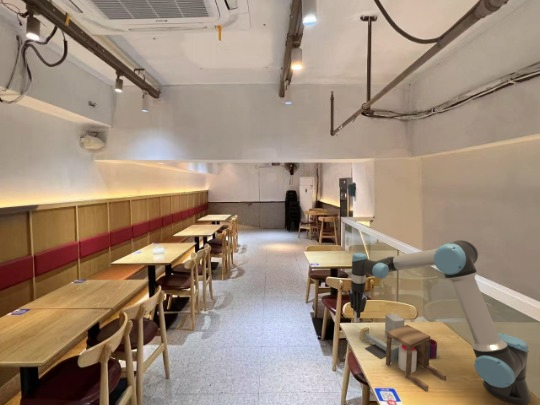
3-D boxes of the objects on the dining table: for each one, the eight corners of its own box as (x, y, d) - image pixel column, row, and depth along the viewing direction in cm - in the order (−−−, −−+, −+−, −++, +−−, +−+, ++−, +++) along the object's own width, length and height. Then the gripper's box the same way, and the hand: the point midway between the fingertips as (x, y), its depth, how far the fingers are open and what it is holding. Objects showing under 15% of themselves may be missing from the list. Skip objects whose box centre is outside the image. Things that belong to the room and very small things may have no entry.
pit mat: (396, 352, 150) (396, 351, 150) (380, 359, 144) (380, 358, 144) (380, 342, 159) (380, 341, 159) (364, 348, 153) (364, 348, 153)
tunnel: (446, 379, 130) (448, 344, 128) (425, 391, 123) (427, 354, 121) (405, 355, 147) (407, 324, 146) (385, 364, 140) (387, 332, 139)
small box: (403, 343, 158) (405, 320, 156) (393, 345, 156) (394, 321, 155) (394, 335, 166) (395, 313, 164) (384, 336, 164) (385, 314, 163)
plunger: (403, 357, 145) (404, 344, 144) (391, 363, 141) (392, 350, 140) (369, 336, 164) (369, 325, 163) (357, 341, 159) (357, 329, 159)
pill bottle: (415, 374, 133) (416, 351, 132) (396, 368, 137) (397, 346, 136) (417, 365, 140) (418, 343, 139) (399, 359, 144) (400, 338, 143)
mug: (438, 359, 144) (439, 346, 144) (416, 357, 146) (417, 343, 146) (433, 351, 151) (434, 338, 150) (412, 349, 153) (413, 336, 152)
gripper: (372, 284, 159) (370, 325, 162) (354, 276, 170) (352, 315, 173) (362, 286, 155) (360, 329, 158) (344, 278, 167) (343, 318, 169)
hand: (356, 322), depth 165 cm, fingers closed
